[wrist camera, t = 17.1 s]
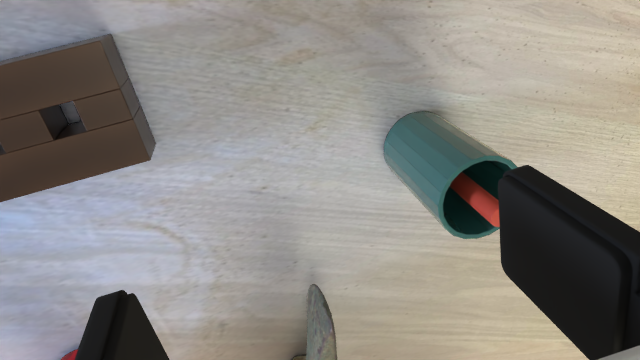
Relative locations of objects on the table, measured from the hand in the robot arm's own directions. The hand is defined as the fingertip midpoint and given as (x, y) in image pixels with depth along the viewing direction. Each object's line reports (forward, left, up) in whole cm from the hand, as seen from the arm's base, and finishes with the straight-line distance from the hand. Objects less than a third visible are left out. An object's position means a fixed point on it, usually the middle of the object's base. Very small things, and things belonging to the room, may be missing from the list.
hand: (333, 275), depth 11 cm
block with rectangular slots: (0, -17, -30) cm, 35 cm away
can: (+12, +14, -30) cm, 35 cm away
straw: (+12, +14, -30) cm, 35 cm away
